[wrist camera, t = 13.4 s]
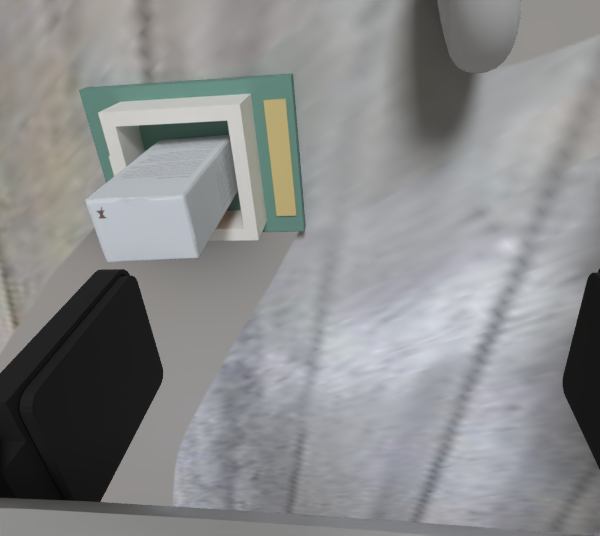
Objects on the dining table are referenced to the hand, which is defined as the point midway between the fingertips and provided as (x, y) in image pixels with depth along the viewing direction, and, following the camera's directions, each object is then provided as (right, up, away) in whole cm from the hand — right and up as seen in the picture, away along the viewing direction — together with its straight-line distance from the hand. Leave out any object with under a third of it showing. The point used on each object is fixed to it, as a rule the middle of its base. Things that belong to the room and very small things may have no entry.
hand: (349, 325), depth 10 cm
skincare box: (-9, +10, +28) cm, 31 cm away
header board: (-9, +10, +29) cm, 32 cm away
